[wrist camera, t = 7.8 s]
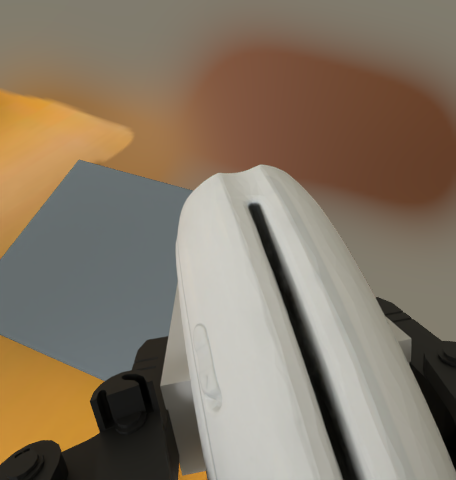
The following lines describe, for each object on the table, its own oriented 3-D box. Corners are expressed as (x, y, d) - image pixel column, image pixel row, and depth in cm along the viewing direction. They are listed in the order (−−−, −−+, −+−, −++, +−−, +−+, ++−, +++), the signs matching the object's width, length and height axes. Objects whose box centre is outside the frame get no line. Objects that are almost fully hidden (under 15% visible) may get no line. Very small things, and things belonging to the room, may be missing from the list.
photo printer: (350, 514, 13) (859, 1003, 2) (251, 544, 13) (289, 1282, 2) (275, 288, 18) (321, 101, 7) (203, 306, 18) (137, 139, 7)
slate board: (-31, 319, 30) (-44, 315, 28) (84, 168, 39) (78, 159, 37) (176, 411, 25) (172, 410, 24) (253, 215, 34) (253, 207, 33)
